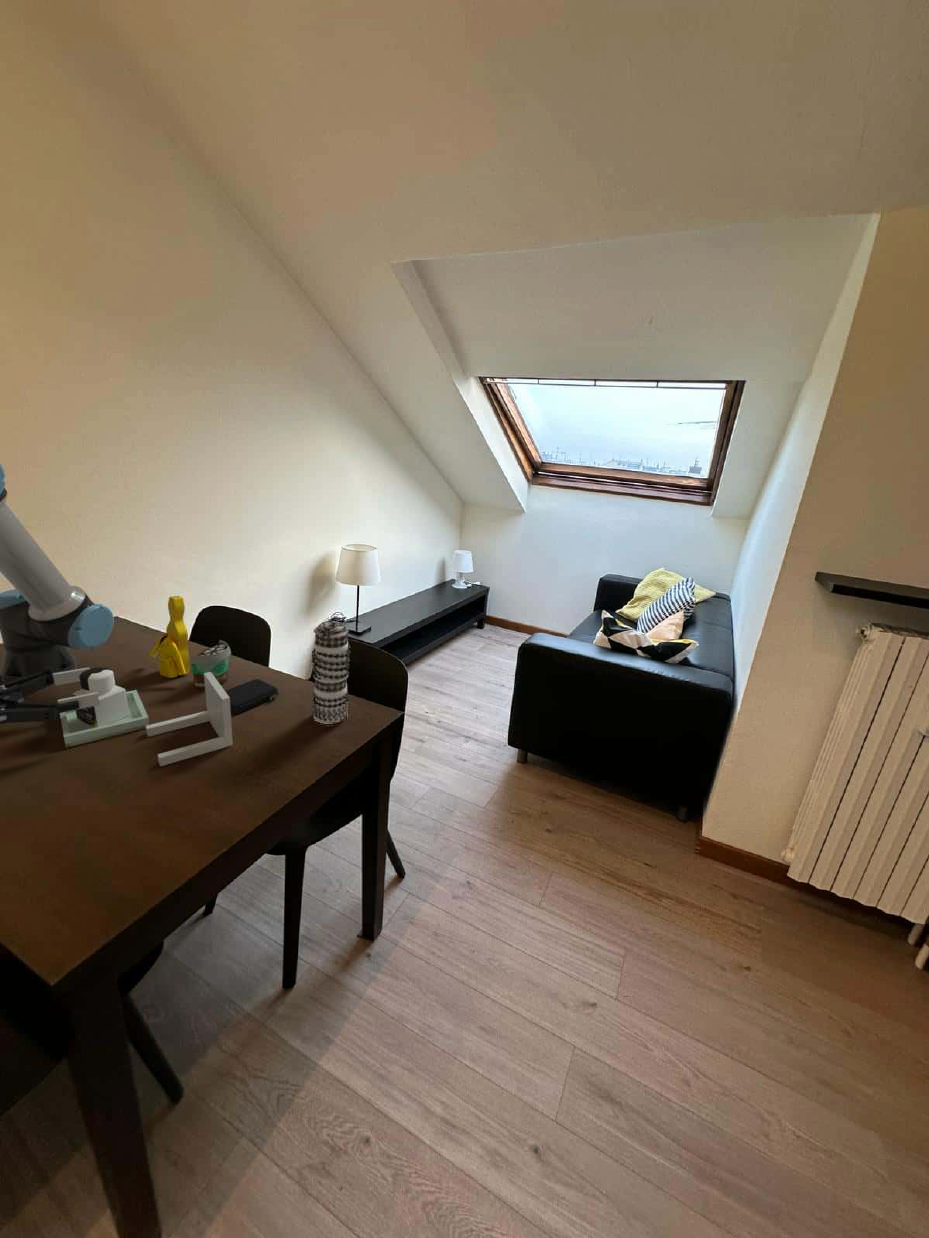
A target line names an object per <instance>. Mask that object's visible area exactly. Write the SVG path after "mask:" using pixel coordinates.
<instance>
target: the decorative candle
mask: <svg viewBox="0 0 929 1238" xmlns="http://www.w3.org/2000/svg"><path fill="white" fill-rule="evenodd" d="M349 631H350V629H348V627H346V626H345V625H344V624H343V623H342V622H339V621H336V620H335V621H334V620H328V621H323V622H321V623H319V624H318V626H317V627H315V628H314V629H313V633H314V634H315V635H314V638H315V639H314V643H313V644H314V645H313V646H314V648H313V650H312V651H311V663H313V664H312V674H311V675H312V676H313V678H314V687H313V688H314V690H313V691H312V692H313V693H312V698H313V700H312V702H313V704H312V715H313V716H312V717H313V718H314V719H315V720H314V719H313V718H312V719H313V720H314V721H317V722H320V723H323V724H330V723H331V724H332V723H333V722H340V721H339V720H340V719H343V718H344V716H345V715H346V713H347V714H348V713H349V711H348V709H349V702H348V701H349V690H348V683H347V679H348V677H349V675H350V671H349V670H348V669H350V666H351V665H350V663H351V658H350V657H349V656H350V655H352V651H351V650H350V649H352V646H351V644H349V641H348V637H349V636H348V633H349ZM317 722H316V723H317Z"/></svg>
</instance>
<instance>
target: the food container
mask: <svg viewBox="0 0 929 1238" xmlns="http://www.w3.org/2000/svg"><path fill="white" fill-rule="evenodd" d="M231 654H232V650H231V648H230V646H229V644H228V643H227V642H225V641H224V640H221V639H219V640H218V644H216V645H214V646H211V647H208V648H205V649H204V650H202V651H201V652H200V653H198V654H197V655H192V654H191V655H189V663H190V666H191V670H192V675H193V680H194V686H195V689H201V690H205V681H204V673H208V672H211V673H212V674H213V676H214V677H215V678H216V680H217V681H218V682H219V684H220V685H221V686H223V685H225V684H226V683H228V679H229V678H228V676H229V657H230V656H231Z"/></svg>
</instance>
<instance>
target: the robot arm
mask: <svg viewBox="0 0 929 1238" xmlns="http://www.w3.org/2000/svg"><path fill="white" fill-rule="evenodd" d="M5 473H6V472H5V469H4V467H3V465H2V464H1V462H0V573H1V574H2V575H3V576H4V578H6V579H7V581H8V582H9V583H10V585H12V587H13V589H10V590H5V591H2V592H0V636H1V641H2V645H3V649H4V654H3V658H2V663H1V667H0V678H1V682H2V683H0V725H6V724H10V723H11V724H13V723H14V724H15V723H36V722H37V723H38V722H40V723H41V722H54V721H57V720H60V719H61V717H60V713H63V712H68V711H73V710H77V709H82V708H87V707H92V706H96V705H100V704H99V698H98V693H97V692H95V693H90V694H85V695H80V696H75V697H73V696H70V697H66V698H61V699H57V702H52V701H40V700H39V701H38V700H29V699H26V698H27V697H28V696H30V695H33V694H35V693H37V692H39V691H42V690H43V689H46V688H47V687H49V686H51V685H53V684H54V686H56V687H57V686H60V685H65V684H66V685H67V684H72V683H78V682H80V678H79V676H80V674H81V673H82V672H84V671H86V670H88V669H91V668H90V667H85V668H84V667H83V668H78V664H77V660H76V657H75V656H74V655H73V654H72V651H70V650H69V649H70V648H71V649H72V650H81V651H90V650H95V649H97V648H99V647H100V646H101V645H103V644H104V643H105V642H106V641H107V640H108V639H109V638H110V636H111V634H112V631H113V627H114V625H115V618H114V614H113V612H112V610H111V609H110V608H109V607H107V606H106V605H104V604H101V603H95V602H93V601H92V599H91V598H90V597H89V596H88V595H87V593H86V592H85V590H84V589H83V588H81V586H80V587H79V586H76V585H71V584H70V583H69V582H68V581H67V580H66V578H65V577H64V575H63V574H62V573H61V572H60V570H59V569H58V568H57V567H56V566H55V564H54V563H53V562H52V560H51V559H50V558H49V557H48V555H47V554H46V553H45V551H44V550H43V549H42V548H41V547H40V545H39V544H38V543H37V541H36V540H35V539H34V538H33V536H32V535H31V534H30V533H29V531H28V530H27V529H26V528H25V526H24V525H23V524H22V523H21V521H20V520H19V519H18V517H17V516H16V515H15V514H14V512H13V511H12V509H10V507H9V506H8V504H7V503H6V501H7V499H8V497H9V496H8V495H9V492H8V491H7V489H6V488H5V487H6V481H4V478H6V474H5Z"/></svg>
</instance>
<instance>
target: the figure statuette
mask: <svg viewBox="0 0 929 1238" xmlns="http://www.w3.org/2000/svg"><path fill="white" fill-rule="evenodd" d="M167 608H168V614H169V617H170V619H169V622H168V623H167V626H166V630H165V632H166V633H164V634H162V635H161V636H159V637H158V638H157V642H156V644H155V646H153V648H152V650H151V651H150V653H149V654H148V655H149V657H150V658H154V659H155V658H156V657H157V656H158V670H159V675H160V676H162V677H164V678H168V679H171V678H172V679H173V678H177V677H178V676H186V675H187V674H189V672H190V670H191V669H190V668H191V663H189V658H190V655H189V651H188V650H189V649H188V640H189V633H188V630H187V628H186V624H185V622H184V615H185V612H186V611H185V610H186V609H185V601H184V598H183V597H182V596H180V595H174V596H169V597H168V602H167Z"/></svg>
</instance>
